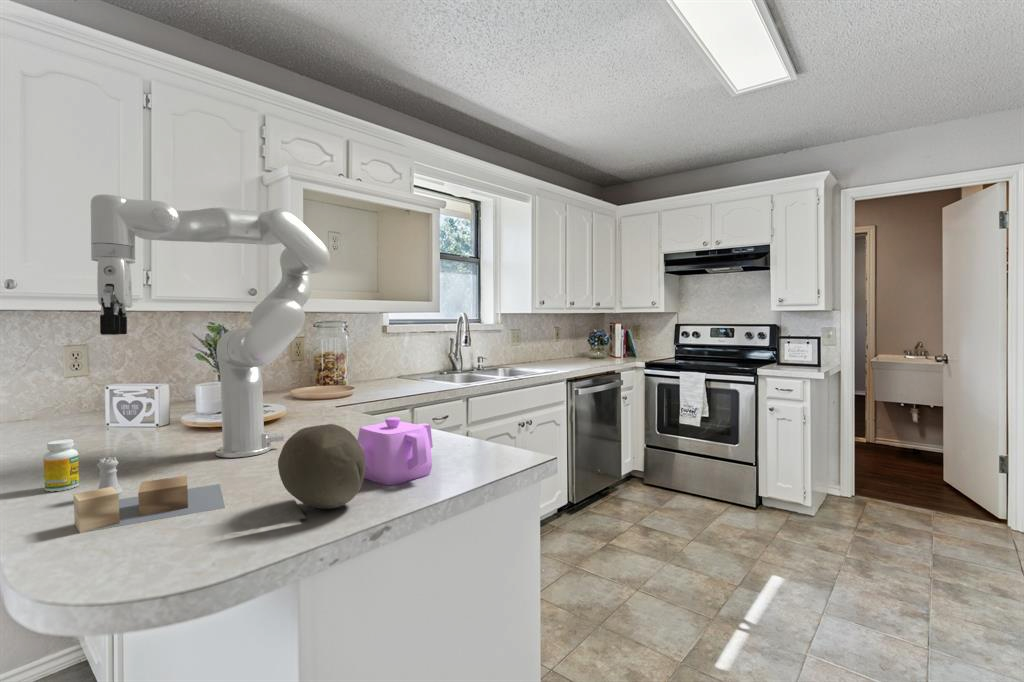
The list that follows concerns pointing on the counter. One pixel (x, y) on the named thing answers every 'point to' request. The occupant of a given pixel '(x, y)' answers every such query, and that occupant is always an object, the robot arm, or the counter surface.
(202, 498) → the slate mat
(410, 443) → the teakettle
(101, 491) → the oak block
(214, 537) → the counter surface
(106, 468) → the rook chess piece
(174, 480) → the wooden block
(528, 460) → the counter surface
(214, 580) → the counter surface
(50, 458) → the supplement bottle
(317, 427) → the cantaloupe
